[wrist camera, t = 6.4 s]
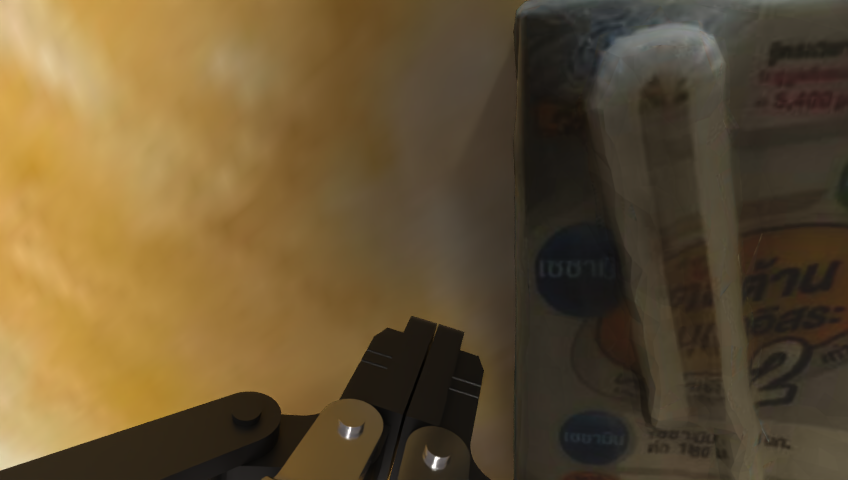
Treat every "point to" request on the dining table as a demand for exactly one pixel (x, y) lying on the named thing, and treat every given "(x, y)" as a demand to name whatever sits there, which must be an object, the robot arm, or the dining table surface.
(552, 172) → the beverage carton
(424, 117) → the dining table surface
